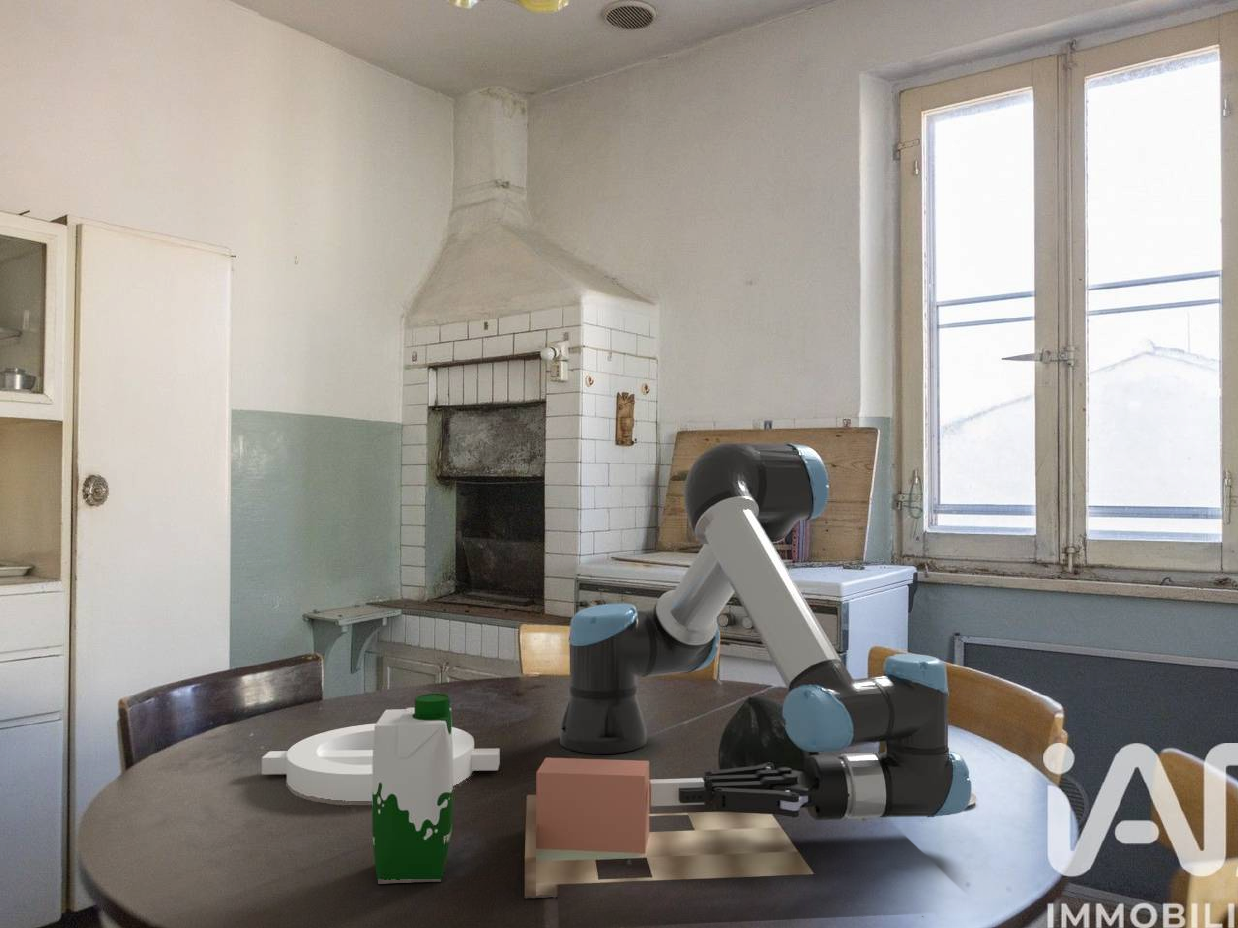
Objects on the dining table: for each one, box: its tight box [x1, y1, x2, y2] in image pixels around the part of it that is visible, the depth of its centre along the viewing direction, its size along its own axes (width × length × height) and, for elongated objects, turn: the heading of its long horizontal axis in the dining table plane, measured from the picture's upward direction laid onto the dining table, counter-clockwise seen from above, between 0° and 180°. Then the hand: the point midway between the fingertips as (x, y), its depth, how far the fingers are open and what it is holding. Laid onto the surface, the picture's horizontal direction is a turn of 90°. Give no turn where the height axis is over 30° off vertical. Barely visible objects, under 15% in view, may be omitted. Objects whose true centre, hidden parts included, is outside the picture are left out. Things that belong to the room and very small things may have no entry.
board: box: [524, 794, 814, 897], centre depth 111 cm, size 32×20×4 cm, turn 95°
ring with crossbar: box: [261, 723, 501, 801], centre depth 142 cm, size 28×28×5 cm
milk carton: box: [371, 693, 454, 880], centre depth 107 cm, size 9×9×20 cm
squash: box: [717, 695, 820, 771], centre depth 133 cm, size 14×15×15 cm
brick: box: [535, 757, 650, 853], centre depth 112 cm, size 13×6×9 cm, turn 84°
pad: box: [536, 849, 639, 862], centre depth 110 cm, size 12×8×2 cm, turn 95°
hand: (650, 792), depth 111 cm, fingers closed
